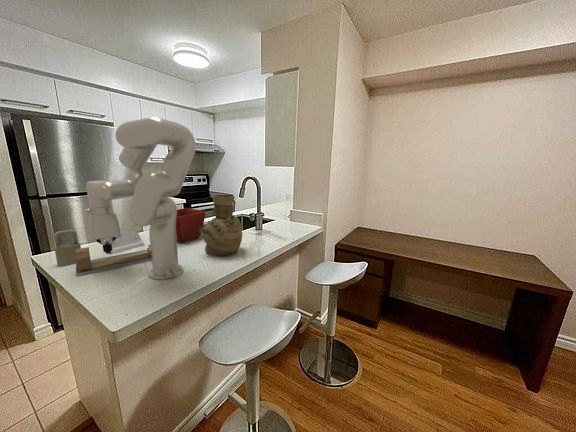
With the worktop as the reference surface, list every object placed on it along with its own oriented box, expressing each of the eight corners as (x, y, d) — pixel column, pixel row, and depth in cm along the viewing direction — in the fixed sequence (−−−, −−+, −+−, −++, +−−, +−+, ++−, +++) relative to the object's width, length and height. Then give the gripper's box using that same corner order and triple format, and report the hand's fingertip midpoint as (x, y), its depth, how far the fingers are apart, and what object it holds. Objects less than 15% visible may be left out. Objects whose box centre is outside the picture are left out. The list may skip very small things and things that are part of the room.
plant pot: (179, 246, 131) (177, 216, 128) (159, 240, 141) (156, 212, 137) (207, 238, 147) (206, 211, 144) (187, 233, 157) (186, 207, 153)
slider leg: (92, 268, 98) (89, 249, 97) (79, 270, 96) (76, 251, 94) (91, 261, 105) (88, 244, 103) (78, 264, 102) (76, 246, 100)
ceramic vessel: (198, 249, 126) (194, 193, 120) (237, 245, 135) (236, 192, 129) (202, 263, 110) (198, 198, 104) (246, 256, 119) (246, 196, 113)
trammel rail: (161, 254, 115) (160, 248, 114) (79, 271, 96) (78, 263, 95) (156, 249, 122) (156, 243, 121) (79, 264, 102) (77, 257, 101)
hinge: (111, 254, 117) (105, 235, 117) (107, 255, 120) (101, 236, 119) (145, 245, 132) (139, 228, 131) (140, 246, 134) (135, 229, 134)
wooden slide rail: (164, 257, 115) (164, 255, 114) (76, 276, 94) (76, 273, 94) (157, 249, 125) (157, 247, 125) (76, 265, 104) (76, 262, 104)
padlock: (57, 264, 105) (50, 231, 102) (80, 259, 111) (75, 227, 108) (59, 267, 102) (53, 233, 99) (83, 261, 109) (78, 229, 106)
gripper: (78, 214, 91) (86, 259, 95) (125, 210, 101) (130, 251, 105) (77, 211, 97) (85, 254, 100) (122, 207, 107) (127, 246, 110)
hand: (108, 252), depth 103 cm, fingers closed
